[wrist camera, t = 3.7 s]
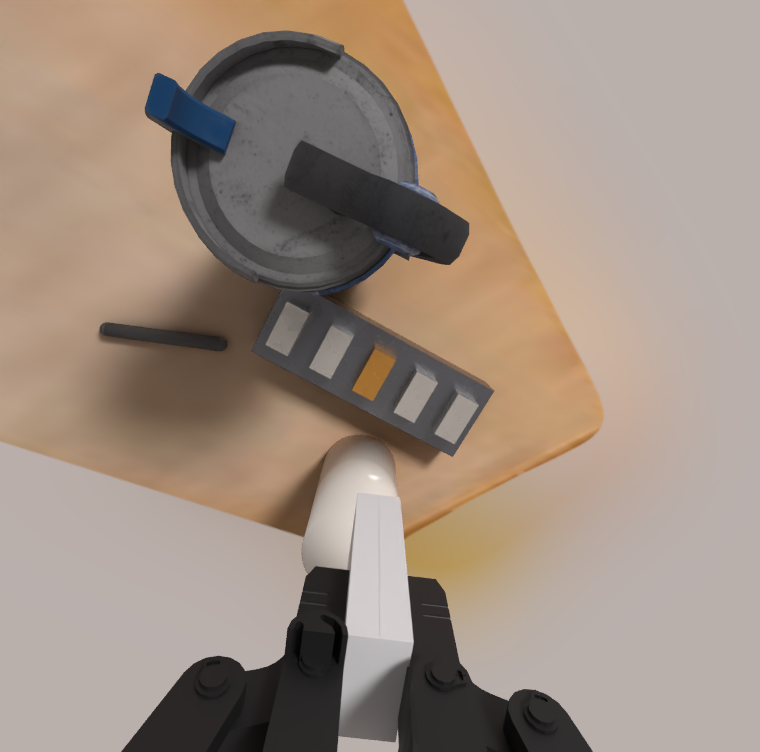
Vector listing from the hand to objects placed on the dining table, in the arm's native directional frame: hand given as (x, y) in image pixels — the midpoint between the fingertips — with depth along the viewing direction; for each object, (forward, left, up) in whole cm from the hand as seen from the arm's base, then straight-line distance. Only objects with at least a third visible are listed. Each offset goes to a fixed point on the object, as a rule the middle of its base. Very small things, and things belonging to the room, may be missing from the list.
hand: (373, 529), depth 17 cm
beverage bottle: (-4, +12, -28) cm, 31 cm away
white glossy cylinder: (0, -10, -28) cm, 30 cm away
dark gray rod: (-19, 0, -28) cm, 34 cm away
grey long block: (0, 0, -28) cm, 28 cm away
